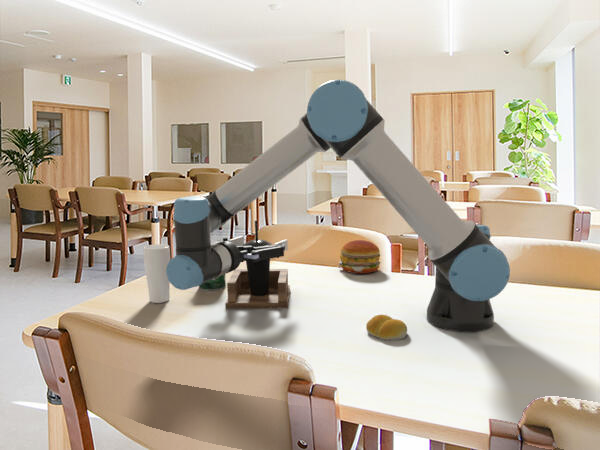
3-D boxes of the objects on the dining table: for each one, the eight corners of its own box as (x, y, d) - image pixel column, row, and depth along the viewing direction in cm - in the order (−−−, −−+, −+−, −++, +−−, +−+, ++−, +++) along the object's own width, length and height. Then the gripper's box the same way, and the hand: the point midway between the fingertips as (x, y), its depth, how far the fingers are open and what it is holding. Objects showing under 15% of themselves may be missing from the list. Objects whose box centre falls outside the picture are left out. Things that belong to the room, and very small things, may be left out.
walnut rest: (287, 308, 134) (287, 283, 133) (225, 308, 134) (224, 284, 133) (289, 290, 150) (289, 268, 149) (234, 290, 150) (233, 268, 149)
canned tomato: (206, 292, 149) (204, 254, 147) (194, 286, 155) (192, 250, 153) (230, 287, 153) (229, 250, 152) (218, 281, 160) (216, 246, 158)
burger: (379, 276, 163) (380, 245, 162) (336, 275, 166) (336, 244, 164) (380, 266, 176) (381, 237, 175) (340, 265, 179) (340, 236, 177)
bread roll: (391, 344, 110) (392, 326, 110) (360, 333, 117) (360, 316, 117) (415, 334, 116) (416, 317, 115) (384, 324, 123) (384, 308, 122)
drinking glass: (177, 300, 142) (174, 246, 139) (155, 306, 137) (151, 250, 134) (163, 295, 146) (160, 242, 144) (141, 301, 142) (138, 246, 139)
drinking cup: (261, 287, 147) (257, 217, 144) (279, 292, 142) (276, 220, 138) (239, 293, 142) (235, 221, 138) (257, 299, 137) (254, 224, 133)
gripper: (178, 269, 130) (226, 252, 149) (265, 280, 119) (305, 260, 138) (176, 239, 129) (225, 226, 147) (265, 248, 118) (305, 232, 137)
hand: (264, 242), depth 143 cm, fingers open, 13 cm apart
